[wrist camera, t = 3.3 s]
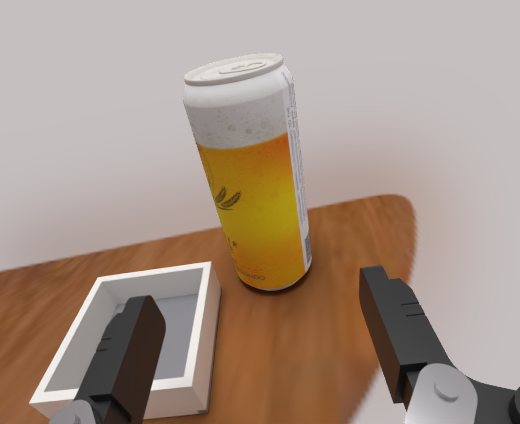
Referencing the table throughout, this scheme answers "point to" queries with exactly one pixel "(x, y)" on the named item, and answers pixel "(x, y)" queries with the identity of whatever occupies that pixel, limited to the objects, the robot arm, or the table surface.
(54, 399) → the white square tray
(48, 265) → the table surface
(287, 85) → the beer can
